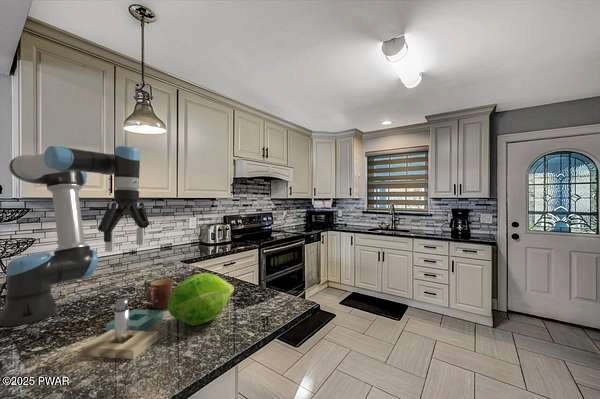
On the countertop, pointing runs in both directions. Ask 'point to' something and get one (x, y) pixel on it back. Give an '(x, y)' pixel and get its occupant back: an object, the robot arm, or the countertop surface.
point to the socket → (140, 320)
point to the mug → (160, 293)
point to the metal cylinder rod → (121, 321)
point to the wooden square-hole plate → (120, 345)
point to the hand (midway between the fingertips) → (125, 247)
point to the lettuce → (199, 298)
